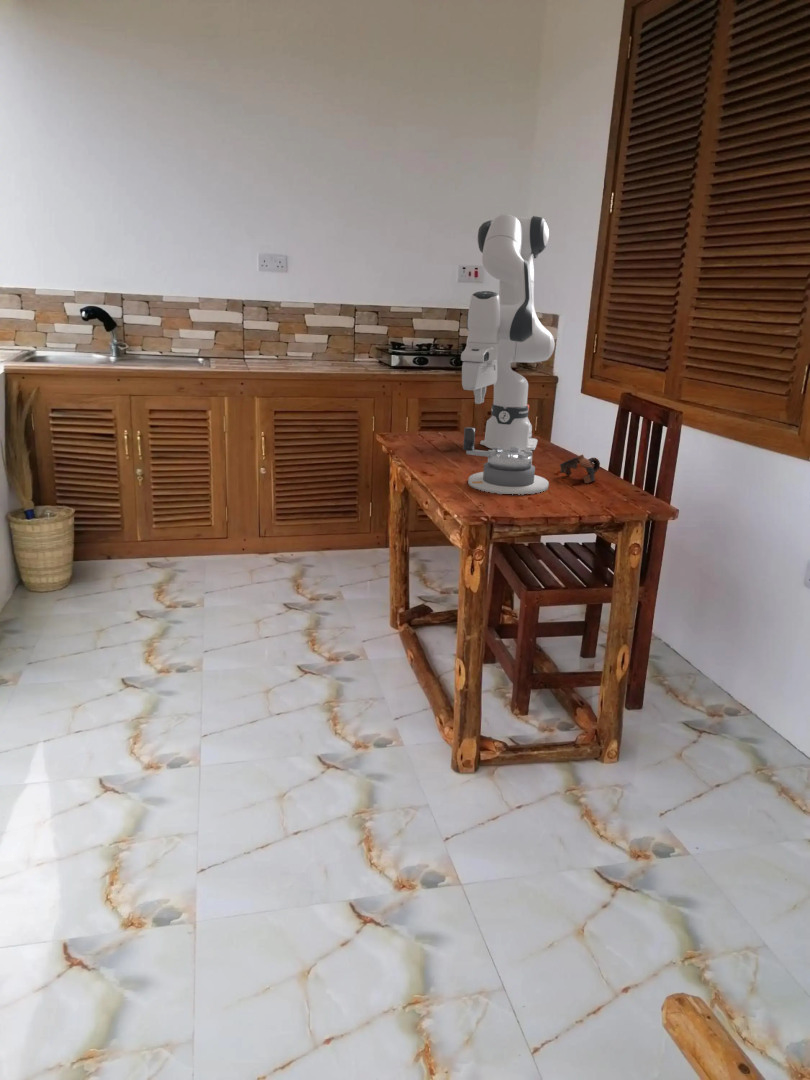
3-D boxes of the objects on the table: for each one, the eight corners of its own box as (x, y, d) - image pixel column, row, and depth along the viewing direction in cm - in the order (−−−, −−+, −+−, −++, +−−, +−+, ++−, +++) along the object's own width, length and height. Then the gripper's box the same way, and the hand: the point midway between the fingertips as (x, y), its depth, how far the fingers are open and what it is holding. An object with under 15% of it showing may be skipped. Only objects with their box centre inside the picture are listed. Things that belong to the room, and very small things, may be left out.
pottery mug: (579, 487, 223) (568, 460, 223) (561, 494, 232) (550, 468, 232) (612, 472, 228) (600, 446, 228) (593, 480, 237) (581, 454, 237)
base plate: (483, 471, 236) (484, 454, 234) (556, 480, 228) (558, 462, 226) (456, 488, 217) (457, 469, 215) (536, 499, 208) (537, 479, 207)
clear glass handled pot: (470, 455, 231) (472, 424, 228) (536, 463, 223) (539, 431, 220) (455, 463, 220) (457, 431, 217) (524, 472, 213) (527, 438, 210)
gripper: (483, 349, 232) (480, 398, 236) (458, 354, 214) (456, 406, 218) (504, 351, 230) (501, 399, 234) (481, 356, 212) (478, 408, 216)
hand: (479, 403), depth 226 cm, fingers closed
